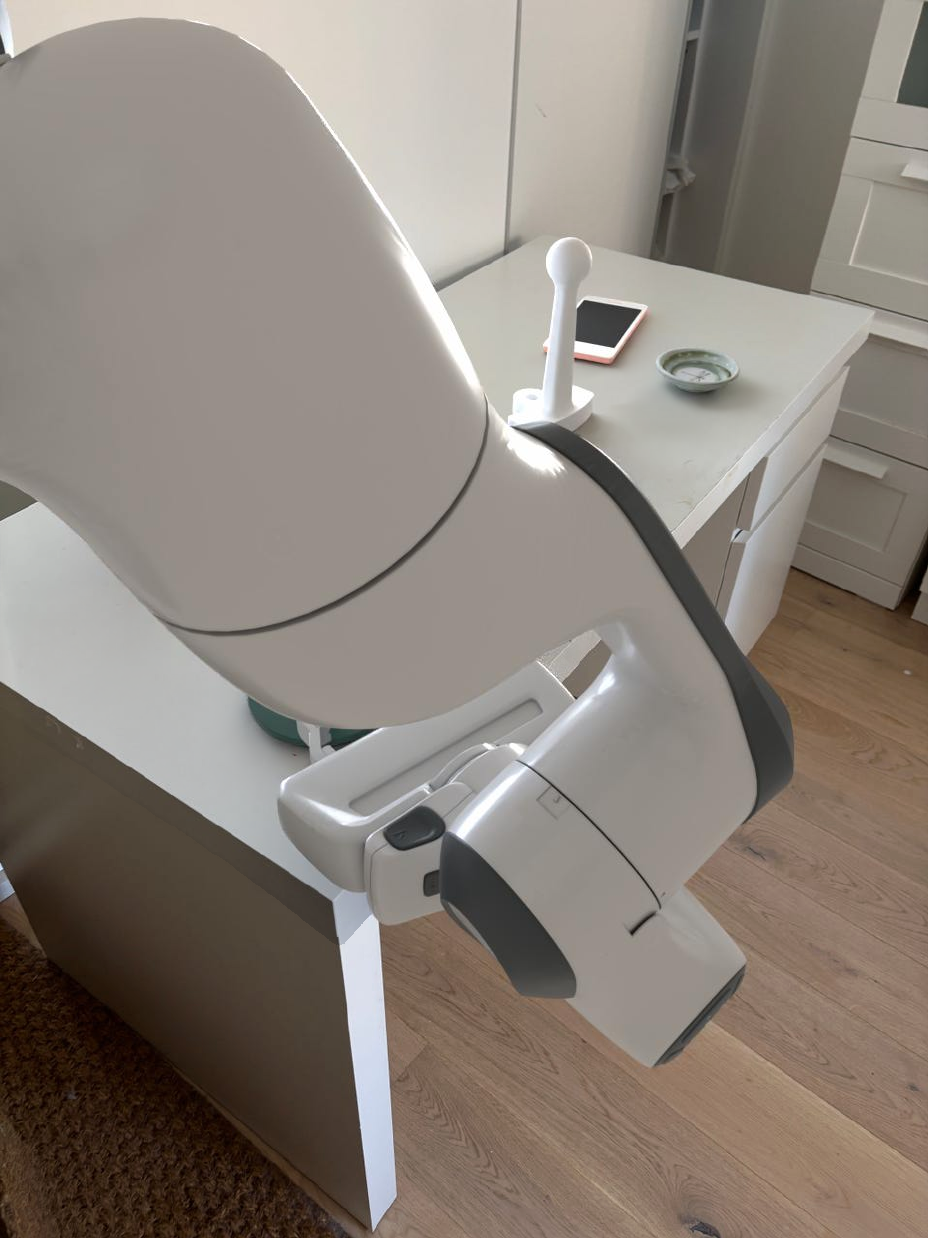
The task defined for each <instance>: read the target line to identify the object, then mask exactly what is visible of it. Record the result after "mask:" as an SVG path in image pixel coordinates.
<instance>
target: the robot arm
mask: <svg viewBox="0 0 928 1238" xmlns="http://www.w3.org/2000/svg"><path fill="white" fill-rule="evenodd" d="M13 39H14V38H13V33H12V25H11V20H10V15H9V12H8V8H7V4H6V0H0V481H1V482H4V483H7V484H8V485H11V486H12V487H15V488H17V489H18V490H20V491H22V492H24V493H25V494H27V495H28V496H30V497H32V498H33V499H34V500H36V501H37V502H39V503H40V504H41V505H42V506H44V507H45V508H46V509H47V510H48V511H49V512H51V514H53V515H55V516H56V518H58V519H59V520H60V521H62V522H63V523H64V524H65V525H66V526H68V528H70V530H72V531H73V533H75V535H77V536H78V538H80V540H82V542H83V543H84V544H85V545H86V546H87V547H88V548H89V549H90V550H91V551H92V552H93V553H94V554H95V556H96V557H97V558H98V559H99V561H100V562H102V564H104V566H105V567H106V568H108V570H109V571H110V572H111V573H112V574H113V575H114V577H116V578H117V580H118V581H119V582H121V584H122V585H123V586H124V587H125V588H126V589H127V591H128V592H130V594H131V595H132V596H134V598H136V600H137V601H138V602H139V603H140V604H141V605H142V606H143V607H144V608H145V609H146V610H147V611H148V612H149V613H150V614H151V615H152V616H153V617H154V618H155V619H156V620H157V621H158V622H159V623H160V624H161V625H162V626H163V627H164V628H165V629H166V630H167V631H168V632H169V633H171V635H173V636H174V637H175V639H177V640H178V641H179V642H180V643H181V644H182V645H183V646H185V647H186V648H187V649H188V650H189V651H190V652H191V653H192V654H193V655H195V656H196V657H197V658H198V659H199V660H200V661H202V662H203V663H204V664H205V665H206V666H207V667H209V668H210V669H211V670H212V671H214V672H215V673H216V674H218V675H219V676H220V677H221V678H223V679H224V680H225V681H226V682H228V683H229V684H230V685H232V686H233V687H234V688H236V689H237V690H239V691H240V692H241V693H243V694H245V695H246V697H247V696H249V697H250V698H252V699H253V700H255V701H256V702H258V703H260V704H261V705H263V706H264V707H266V708H268V709H270V710H272V711H274V712H276V713H278V714H280V715H283V716H285V717H287V718H290V719H293V720H296V721H297V730H298V733H299V735H300V737H301V739H302V740H303V741H304V742H305V743H306V744H307V745H308V746H307V747H309V759H310V765H308V766H307V767H305V768H303V769H302V770H299V771H298V772H296V773H294V774H292V775H290V776H288V777H287V778H285V779H283V780H282V781H281V782H280V784H279V787H278V791H277V795H276V796H277V797H276V808H277V809H276V811H277V815H278V820H279V824H280V827H281V830H282V831H283V833H284V835H285V836H286V838H287V839H288V840H289V842H290V843H291V844H292V845H293V846H294V847H295V848H296V850H297V851H298V852H299V853H300V854H301V855H302V856H303V858H305V859H306V860H307V861H308V862H309V863H310V864H311V865H312V866H313V867H314V868H315V869H316V870H317V871H318V872H319V873H321V875H323V876H324V877H325V878H326V879H327V880H328V881H330V882H331V883H332V884H334V885H335V886H337V887H338V888H340V889H342V890H344V891H347V892H351V893H356V894H364V893H365V896H366V900H367V904H368V907H369V910H370V912H371V914H372V916H373V917H374V918H375V919H376V920H377V922H379V923H380V924H382V925H383V926H388V927H389V926H397V925H400V924H403V923H406V922H410V921H413V920H416V919H418V918H422V917H425V916H428V915H432V914H436V913H438V912H443V911H445V912H446V914H447V915H448V916H449V918H451V920H452V921H453V922H454V923H455V924H456V925H457V926H458V927H459V928H460V929H462V930H463V931H464V932H465V933H466V934H467V935H468V936H470V937H471V938H472V939H473V940H475V941H476V942H477V943H479V945H481V946H482V947H483V948H484V949H485V950H486V951H487V952H488V953H489V954H490V955H491V956H492V958H493V959H494V960H495V961H496V962H497V963H498V964H499V966H500V967H501V968H502V969H503V971H504V973H505V974H506V976H507V978H508V980H509V981H510V983H511V985H512V986H513V988H514V989H515V991H516V992H517V994H518V995H519V996H521V997H526V998H527V997H528V998H538V999H539V998H540V999H550V1000H564V1001H565V1002H566V1003H567V1004H568V1005H570V1006H571V1007H572V1008H573V1009H574V1010H575V1011H576V1012H577V1013H578V1014H579V1015H580V1016H581V1017H582V1018H584V1019H585V1020H586V1021H587V1022H588V1023H590V1024H591V1025H592V1026H593V1027H594V1028H595V1029H597V1031H599V1032H600V1033H601V1034H602V1035H604V1037H606V1038H607V1039H609V1040H610V1041H611V1042H612V1043H613V1044H614V1045H616V1046H617V1047H618V1048H619V1049H621V1050H622V1051H623V1052H624V1053H626V1054H627V1055H628V1056H630V1057H631V1058H633V1059H634V1060H635V1061H636V1062H638V1063H639V1064H641V1065H643V1066H644V1067H646V1068H649V1069H650V1068H656V1067H658V1066H662V1065H666V1064H668V1063H670V1062H672V1061H674V1060H675V1059H676V1058H677V1057H679V1056H680V1055H681V1054H682V1053H683V1052H684V1049H685V1048H686V1047H687V1046H688V1045H690V1043H691V1042H693V1040H694V1039H695V1038H696V1037H697V1036H698V1035H699V1034H700V1033H701V1032H702V1030H703V1029H704V1028H705V1027H706V1026H707V1025H708V1024H709V1022H710V1021H711V1020H712V1019H713V1018H714V1017H715V1015H717V1013H718V1012H719V1011H721V1009H722V1008H723V1007H724V1006H725V1004H726V1003H727V1002H728V1001H729V999H730V1000H731V998H732V997H733V996H734V995H735V994H736V993H737V991H738V990H739V988H740V986H741V984H742V983H743V980H744V978H745V976H746V975H745V972H746V968H747V962H748V961H747V957H746V955H745V954H744V952H743V951H742V950H741V948H740V947H739V946H738V944H737V943H736V942H735V941H734V939H733V938H732V937H731V936H730V934H729V933H728V931H726V930H725V928H724V927H723V926H722V925H721V924H720V923H719V922H718V920H717V919H716V918H715V917H714V916H713V915H712V914H711V913H710V912H709V910H707V908H706V907H705V906H704V905H703V904H702V903H701V902H700V900H698V899H697V897H696V896H695V895H694V894H693V893H692V892H691V891H690V890H689V889H688V887H686V885H685V884H686V883H688V881H690V879H691V878H692V877H693V876H694V875H695V874H696V873H697V872H698V871H699V870H700V868H702V866H703V865H704V864H705V863H707V861H708V860H709V859H710V858H711V857H712V856H713V854H715V853H716V851H718V850H719V848H720V847H722V845H723V844H724V843H725V842H726V841H727V840H728V839H729V838H730V837H731V836H732V835H733V833H734V832H735V831H736V830H738V828H740V827H741V826H742V825H744V824H746V823H747V822H749V820H751V819H752V818H753V817H754V816H755V815H756V814H757V813H758V812H760V811H761V809H763V807H764V808H765V806H766V805H767V804H768V803H770V802H771V801H772V800H773V799H774V798H775V797H776V796H777V795H779V793H781V792H783V790H784V789H785V788H786V787H788V786H789V784H790V783H791V781H792V780H793V776H794V769H795V768H794V767H795V741H794V740H795V739H794V732H793V731H794V730H793V723H792V720H791V715H790V712H789V710H788V708H787V706H786V704H785V703H784V701H783V700H782V698H781V697H780V696H779V694H778V693H777V692H776V690H775V688H774V687H772V686H771V684H770V683H769V682H768V680H767V679H766V678H765V677H764V676H763V675H762V673H761V672H760V670H758V669H757V668H756V666H755V665H754V664H753V663H752V662H751V661H750V660H749V658H748V657H747V656H746V654H744V653H743V651H742V650H741V648H740V647H739V645H738V644H737V643H736V640H735V638H734V637H733V635H732V634H731V632H730V630H729V629H728V627H727V625H726V623H725V621H724V620H723V618H722V616H721V615H720V613H719V611H718V609H717V608H716V607H715V605H714V603H713V601H712V600H711V598H710V596H709V594H708V592H707V591H706V589H705V588H704V586H703V584H702V582H701V581H700V579H699V577H698V575H697V574H696V572H695V571H694V569H693V567H692V565H691V564H690V561H689V560H688V558H687V556H686V554H685V553H684V552H683V550H682V549H681V547H680V545H679V544H678V541H677V540H676V538H675V537H674V535H673V534H672V532H671V531H670V529H669V528H668V526H667V525H666V523H665V521H664V520H663V519H662V517H661V516H660V514H659V513H658V511H657V509H656V508H655V507H654V505H653V503H651V501H650V500H649V498H648V497H647V496H646V494H645V493H644V492H643V490H642V489H641V488H640V486H639V485H638V484H637V483H636V482H635V481H634V479H632V477H631V476H630V475H629V474H628V473H627V472H626V471H625V470H624V469H623V468H622V467H621V466H620V465H619V464H618V463H616V462H615V460H613V459H612V458H611V457H610V456H609V455H607V454H606V453H605V452H604V451H603V450H602V449H600V448H599V447H597V446H596V445H595V444H593V443H591V442H590V441H588V440H587V439H585V438H584V437H582V436H581V435H578V434H577V433H575V432H574V431H573V432H572V431H570V430H568V429H566V428H564V427H562V426H560V425H558V424H555V423H553V422H550V421H546V420H539V421H533V422H528V423H523V424H517V425H512V426H509V425H508V423H507V422H505V420H504V419H503V418H502V417H501V416H500V415H499V413H497V411H496V409H495V408H494V406H493V405H492V403H491V401H490V400H489V398H488V396H487V393H486V391H485V389H484V387H483V385H482V382H481V381H480V378H479V376H478V374H477V372H476V370H475V368H474V366H473V364H472V361H471V360H470V357H469V355H468V352H467V351H466V348H465V347H464V345H463V342H462V340H461V338H460V336H459V334H458V331H457V330H456V327H455V325H454V323H453V322H452V319H451V318H450V316H449V314H448V313H447V310H446V308H445V307H444V305H443V303H442V301H441V300H440V297H439V296H438V293H437V291H436V290H435V287H433V284H432V283H431V281H430V279H429V276H428V275H427V273H426V272H425V270H424V268H423V267H422V265H421V263H420V262H419V260H418V258H417V256H416V255H415V253H414V252H413V250H412V248H411V247H410V245H409V243H408V242H407V240H406V238H405V237H404V235H403V234H402V231H401V230H400V228H399V226H398V225H397V223H396V221H395V220H394V218H393V217H392V215H391V214H390V212H389V211H388V209H387V208H386V206H385V204H384V203H383V202H382V200H381V199H380V197H379V196H378V193H376V191H375V190H374V187H372V184H370V182H369V181H368V179H367V178H366V176H365V174H364V173H363V172H362V170H361V168H360V167H359V165H358V164H357V163H356V161H355V160H354V158H353V157H352V155H351V153H350V152H349V151H348V150H347V148H346V147H345V146H344V144H343V143H342V142H341V141H340V139H339V138H338V136H337V134H336V133H335V132H334V131H333V130H332V129H333V128H332V127H330V125H329V124H328V122H327V121H326V119H325V118H324V117H323V115H322V114H321V113H320V111H319V110H318V108H317V107H316V106H315V104H314V103H313V102H312V100H311V99H310V98H309V96H308V95H307V94H306V92H305V91H304V89H303V88H302V86H301V85H299V84H298V82H297V81H296V80H295V79H294V78H293V77H292V75H291V74H290V73H289V72H288V71H287V70H286V69H285V68H284V67H283V66H282V65H280V64H279V63H278V62H277V61H276V60H274V59H273V58H272V57H271V56H270V55H268V54H267V53H266V52H264V51H263V50H262V49H260V47H258V46H256V45H255V44H253V43H251V42H250V41H248V40H246V39H244V38H243V37H241V36H240V35H238V34H235V33H232V32H230V31H227V30H225V29H222V28H220V27H217V26H215V25H212V24H209V23H206V22H199V21H194V20H190V19H186V18H185V19H184V18H175V17H174V18H173V17H142V16H141V17H140V16H139V17H131V18H121V19H114V20H113V19H112V20H105V21H99V22H96V23H92V24H88V25H85V26H81V27H77V28H74V29H70V30H65V31H64V32H61V33H58V34H55V35H53V36H50V37H48V38H46V39H43V40H42V41H40V42H38V43H36V44H34V45H32V46H30V47H28V48H26V49H25V50H23V51H22V52H19V53H18V54H17V55H15V48H14V40H13ZM592 630H593V631H594V632H595V633H596V634H597V636H598V637H599V638H600V639H601V641H602V642H603V643H604V644H605V645H606V647H607V649H609V651H610V652H611V654H610V657H609V658H608V660H607V662H606V663H605V665H604V667H603V668H602V670H601V671H600V673H598V675H597V677H596V678H595V679H594V680H593V682H592V683H591V684H590V685H589V686H588V687H587V688H586V690H584V692H583V693H582V694H581V695H580V696H578V697H577V698H575V697H574V695H573V694H572V693H571V692H570V691H569V690H568V688H566V686H565V685H564V684H563V683H562V682H561V681H560V680H559V679H558V678H557V677H556V676H555V675H554V674H553V672H551V671H550V670H549V669H548V668H547V667H546V666H545V665H544V664H543V663H542V662H540V661H539V659H541V658H542V657H544V656H546V655H547V654H549V653H550V652H552V651H553V650H555V649H556V648H558V647H559V648H560V647H561V646H562V645H564V644H566V643H568V642H570V641H571V640H573V639H575V638H577V637H580V636H581V635H584V634H585V633H587V632H590V631H592ZM330 728H338V729H374V730H373V731H371V732H370V733H368V734H366V735H364V736H362V737H360V738H358V739H356V740H354V741H353V742H352V743H351V742H350V743H349V744H348V745H346V746H344V747H342V748H340V749H338V750H337V751H336V750H335V749H334V748H333V747H332V745H331V746H330V745H327V746H323V745H325V744H326V743H328V742H330V741H331V734H330V732H329V731H330ZM375 728H376V729H375Z"/></svg>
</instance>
